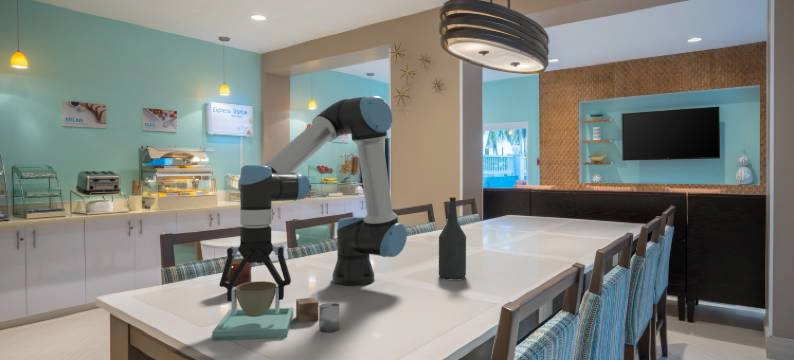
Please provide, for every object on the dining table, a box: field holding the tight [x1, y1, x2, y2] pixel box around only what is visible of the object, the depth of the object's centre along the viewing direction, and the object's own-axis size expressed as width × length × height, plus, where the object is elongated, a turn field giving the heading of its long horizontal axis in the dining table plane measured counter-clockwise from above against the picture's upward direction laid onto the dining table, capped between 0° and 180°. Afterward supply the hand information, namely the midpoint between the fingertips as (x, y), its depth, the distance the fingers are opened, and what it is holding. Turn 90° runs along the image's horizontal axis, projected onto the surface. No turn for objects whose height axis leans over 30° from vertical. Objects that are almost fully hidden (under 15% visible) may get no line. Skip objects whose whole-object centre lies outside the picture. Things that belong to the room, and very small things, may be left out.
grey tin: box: [318, 302, 340, 334], centre depth 114 cm, size 5×5×6 cm
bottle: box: [438, 196, 467, 280], centre depth 170 cm, size 10×10×30 cm
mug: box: [225, 257, 254, 287], centre depth 146 cm, size 12×9×10 cm
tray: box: [211, 306, 294, 341], centre depth 116 cm, size 17×17×2 cm
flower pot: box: [235, 280, 277, 317], centre depth 115 cm, size 10×10×7 cm
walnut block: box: [295, 297, 319, 324], centre depth 122 cm, size 5×5×5 cm
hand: (256, 313), depth 115 cm, fingers closed on flower pot, 10 cm apart
